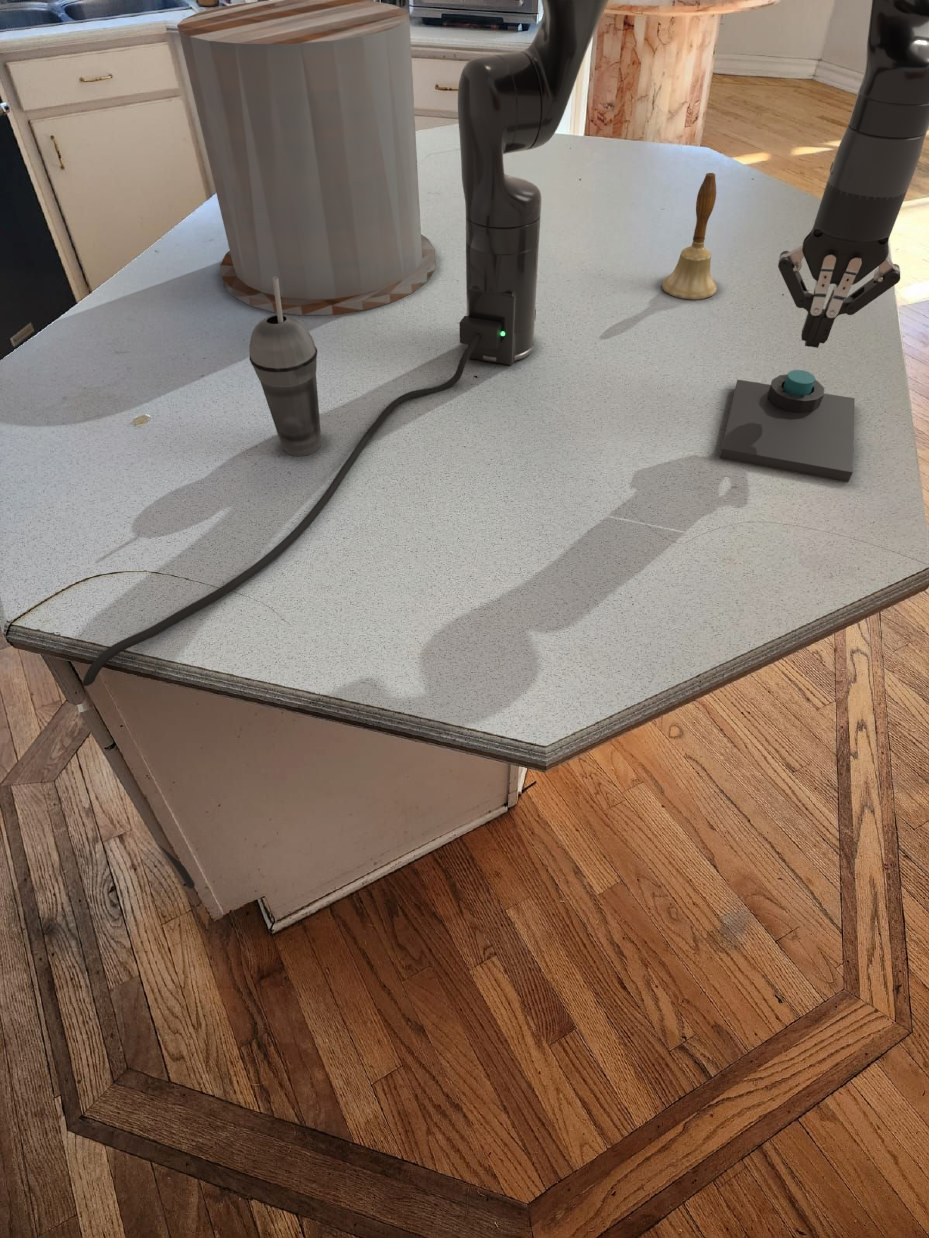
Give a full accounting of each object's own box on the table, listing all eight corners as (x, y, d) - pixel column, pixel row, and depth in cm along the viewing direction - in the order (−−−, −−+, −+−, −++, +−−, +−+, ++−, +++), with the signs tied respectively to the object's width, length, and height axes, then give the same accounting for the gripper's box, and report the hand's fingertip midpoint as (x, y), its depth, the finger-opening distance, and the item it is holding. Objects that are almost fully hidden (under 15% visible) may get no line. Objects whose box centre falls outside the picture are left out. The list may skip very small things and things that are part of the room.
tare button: (810, 398, 90) (814, 385, 89) (782, 394, 91) (786, 381, 90) (811, 385, 92) (816, 372, 91) (784, 381, 93) (788, 368, 92)
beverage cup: (304, 421, 93) (271, 254, 79) (345, 442, 90) (319, 272, 76) (258, 448, 90) (214, 278, 75) (300, 470, 86) (263, 297, 72)
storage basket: (478, 255, 127) (478, 10, 103) (334, 337, 108) (293, 61, 84) (327, 211, 141) (296, -12, 117) (176, 277, 122) (104, 27, 99)
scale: (848, 482, 84) (858, 460, 81) (718, 458, 87) (725, 436, 85) (850, 406, 94) (859, 384, 92) (735, 387, 97) (741, 365, 95)
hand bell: (705, 304, 113) (731, 187, 102) (653, 292, 116) (672, 177, 105) (724, 284, 118) (751, 170, 106) (674, 272, 121) (694, 160, 109)
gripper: (797, 186, 74) (750, 350, 87) (943, 200, 71) (872, 369, 84) (800, 161, 79) (755, 321, 92) (938, 174, 76) (871, 337, 89)
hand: (811, 343), depth 88 cm, fingers closed
